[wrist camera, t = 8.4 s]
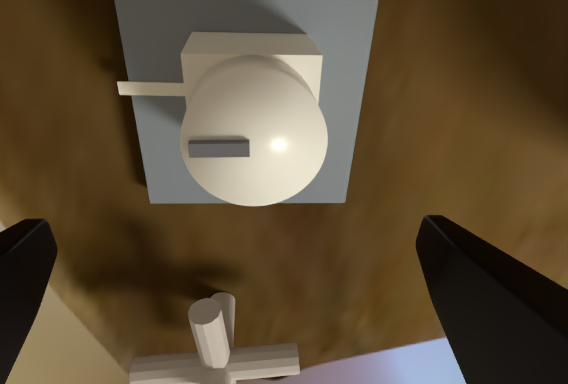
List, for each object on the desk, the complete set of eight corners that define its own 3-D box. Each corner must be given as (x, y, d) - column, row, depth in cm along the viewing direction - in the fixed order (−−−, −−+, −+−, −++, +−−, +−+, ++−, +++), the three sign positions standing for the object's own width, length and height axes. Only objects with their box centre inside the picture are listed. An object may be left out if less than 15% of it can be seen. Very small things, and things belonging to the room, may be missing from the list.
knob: (307, 34, 17) (337, 75, 12) (300, 137, 20) (322, 208, 14) (192, 31, 16) (169, 74, 11) (201, 138, 19) (187, 212, 14)
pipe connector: (135, 255, 25) (76, 415, 16) (288, 242, 25) (306, 393, 17) (168, 348, 30) (136, 503, 22) (292, 337, 31) (308, 485, 22)
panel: (380, -68, 16) (423, -71, 12) (340, 191, 23) (359, 242, 19) (96, -86, 15) (41, -95, 11) (146, 191, 22) (123, 245, 18)
